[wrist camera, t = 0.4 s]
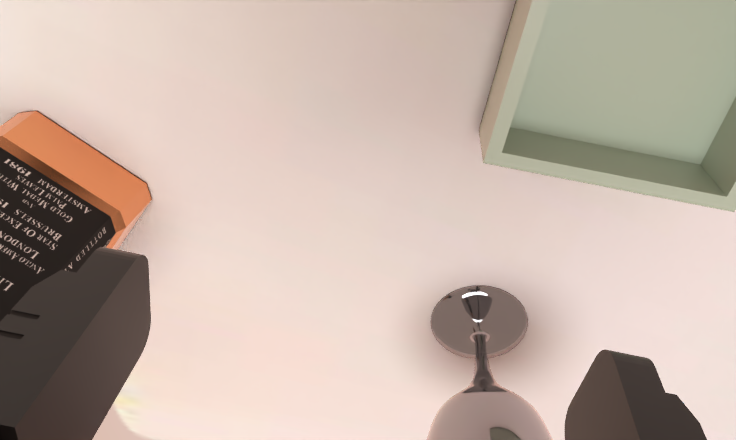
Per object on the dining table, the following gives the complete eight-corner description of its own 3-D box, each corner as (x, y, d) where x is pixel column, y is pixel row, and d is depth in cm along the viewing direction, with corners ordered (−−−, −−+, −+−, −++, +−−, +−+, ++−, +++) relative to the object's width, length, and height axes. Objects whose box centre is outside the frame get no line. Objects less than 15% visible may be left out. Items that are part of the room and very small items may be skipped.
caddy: (554, -132, 29) (571, -130, 25) (836, -77, 29) (896, -66, 25) (478, 130, 36) (483, 162, 33) (703, 174, 36) (734, 211, 33)
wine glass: (536, 358, 46) (573, 553, 33) (433, 365, 47) (431, 555, 35) (530, 275, 42) (569, 461, 29) (417, 286, 43) (408, 467, 31)
